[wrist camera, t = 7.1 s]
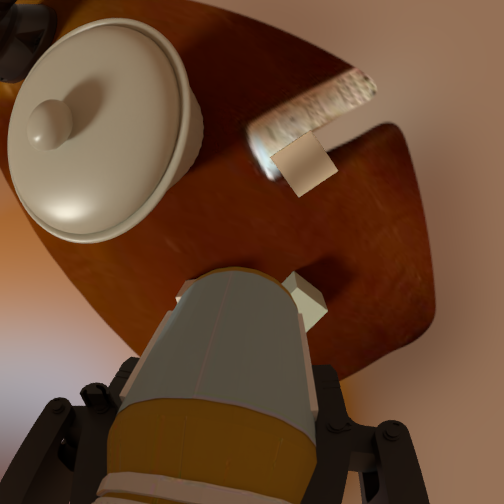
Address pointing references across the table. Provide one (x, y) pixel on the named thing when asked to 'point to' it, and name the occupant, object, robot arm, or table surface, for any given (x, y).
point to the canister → (102, 130)
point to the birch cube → (304, 163)
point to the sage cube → (306, 299)
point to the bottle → (218, 402)
